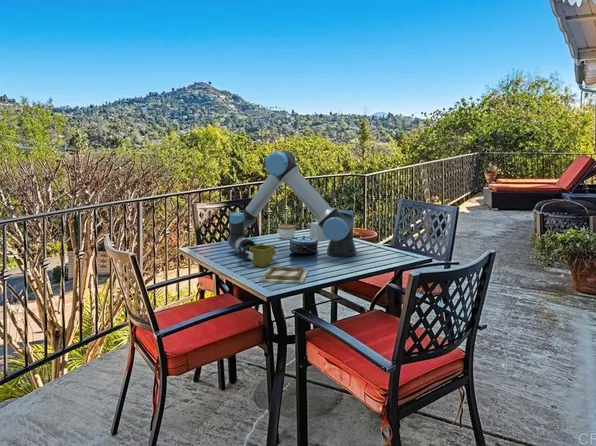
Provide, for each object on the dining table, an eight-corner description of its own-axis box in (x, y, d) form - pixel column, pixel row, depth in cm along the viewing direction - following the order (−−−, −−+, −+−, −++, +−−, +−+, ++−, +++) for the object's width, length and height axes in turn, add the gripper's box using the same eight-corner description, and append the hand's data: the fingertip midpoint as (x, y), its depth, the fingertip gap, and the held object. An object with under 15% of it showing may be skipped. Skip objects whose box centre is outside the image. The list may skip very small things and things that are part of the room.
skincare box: (317, 241, 264) (317, 224, 262) (309, 240, 268) (309, 222, 266) (329, 238, 271) (329, 221, 269) (321, 237, 275) (321, 220, 274)
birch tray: (308, 272, 200) (308, 266, 200) (302, 284, 182) (302, 278, 182) (268, 270, 203) (268, 265, 202) (259, 282, 185) (259, 276, 185)
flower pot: (275, 264, 212) (274, 246, 211) (264, 269, 205) (263, 250, 204) (260, 262, 217) (259, 244, 216) (248, 266, 210) (248, 247, 208)
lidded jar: (293, 240, 266) (293, 225, 265) (276, 240, 268) (275, 224, 267) (297, 237, 276) (297, 222, 275) (280, 236, 279) (280, 221, 277)
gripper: (267, 250, 232) (288, 259, 214) (223, 256, 220) (241, 266, 202) (266, 236, 231) (287, 243, 213) (222, 241, 218) (240, 250, 200)
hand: (265, 254), depth 207 cm, fingers open, 12 cm apart
